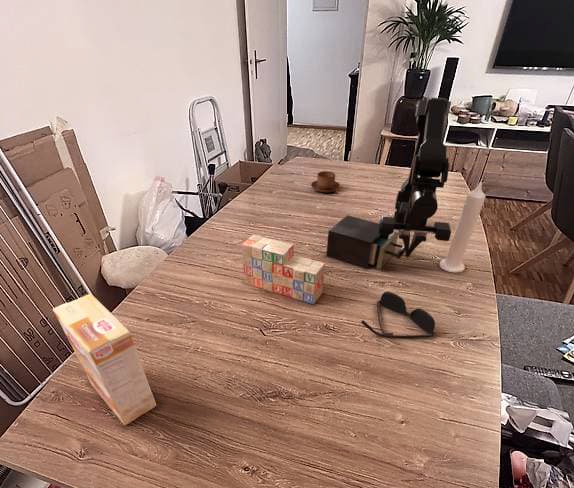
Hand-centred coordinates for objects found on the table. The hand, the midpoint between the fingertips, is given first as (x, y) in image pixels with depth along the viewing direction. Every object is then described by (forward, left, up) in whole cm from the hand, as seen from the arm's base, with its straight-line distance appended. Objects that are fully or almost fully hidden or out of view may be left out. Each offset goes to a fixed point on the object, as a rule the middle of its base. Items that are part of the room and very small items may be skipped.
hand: (407, 255), depth 108 cm
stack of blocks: (+37, +3, -5) cm, 38 cm away
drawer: (+7, -7, -3) cm, 10 cm away
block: (+7, -7, -2) cm, 10 cm away
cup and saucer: (+5, -64, -5) cm, 65 cm away
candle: (-15, +2, -5) cm, 15 cm away
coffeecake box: (+76, +33, -5) cm, 83 cm away
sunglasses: (+15, +25, -5) cm, 29 cm away
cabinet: (+11, -11, -4) cm, 17 cm away
